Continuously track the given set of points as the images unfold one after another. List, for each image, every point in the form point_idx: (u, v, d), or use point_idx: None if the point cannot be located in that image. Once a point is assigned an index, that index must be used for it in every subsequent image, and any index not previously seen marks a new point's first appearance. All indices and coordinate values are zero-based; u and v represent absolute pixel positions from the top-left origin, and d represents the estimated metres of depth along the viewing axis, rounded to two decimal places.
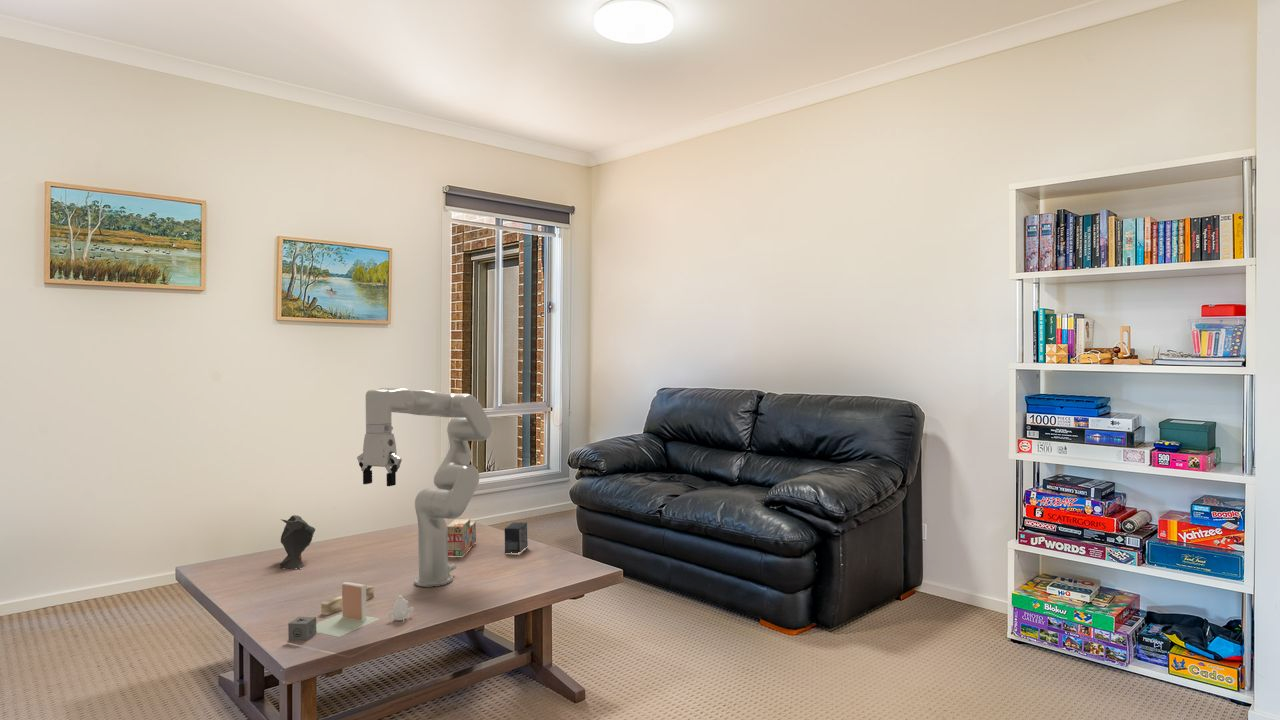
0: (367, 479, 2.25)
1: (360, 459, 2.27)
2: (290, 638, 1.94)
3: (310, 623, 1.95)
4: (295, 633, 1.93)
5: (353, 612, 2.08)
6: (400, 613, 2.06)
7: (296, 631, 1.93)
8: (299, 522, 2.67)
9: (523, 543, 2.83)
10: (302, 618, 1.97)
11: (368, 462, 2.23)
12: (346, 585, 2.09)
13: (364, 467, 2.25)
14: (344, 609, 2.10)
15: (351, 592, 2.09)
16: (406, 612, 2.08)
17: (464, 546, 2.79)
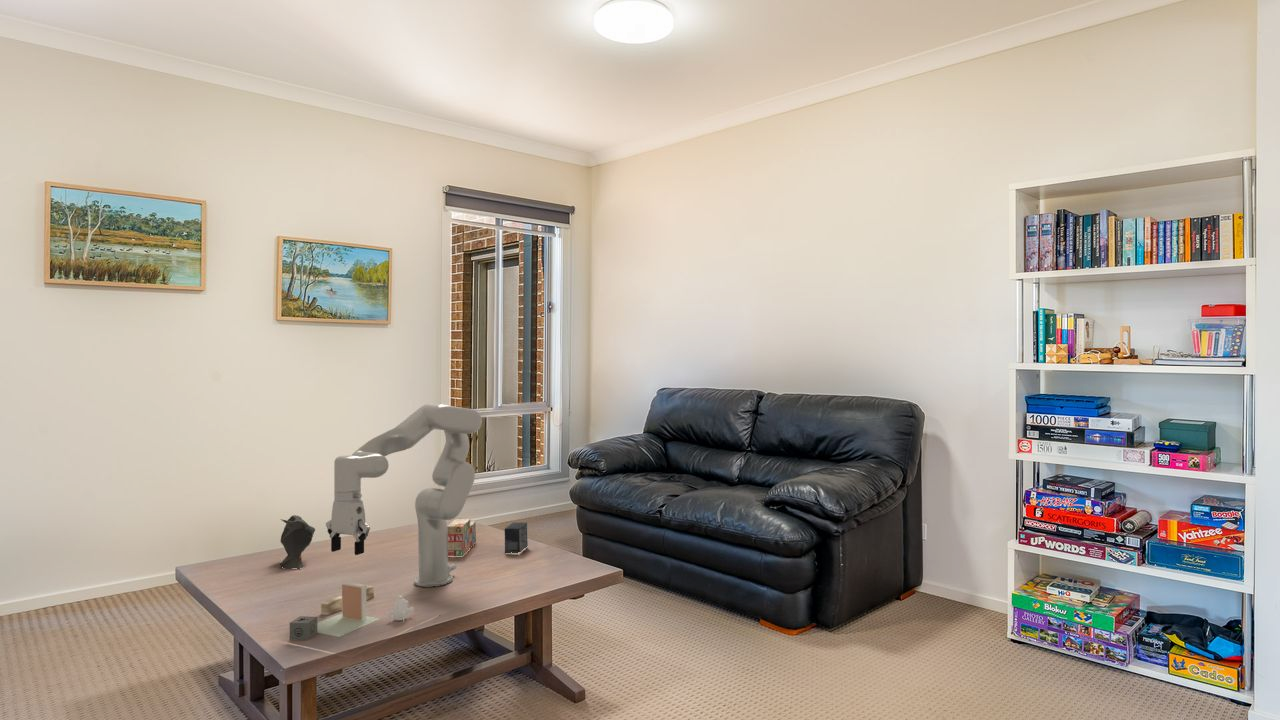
0: (335, 546, 2.23)
1: (329, 525, 2.24)
2: (291, 637, 1.94)
3: (311, 622, 1.96)
4: (297, 632, 1.94)
5: (353, 612, 2.08)
6: (400, 613, 2.06)
7: (297, 630, 1.94)
8: (299, 522, 2.67)
9: (523, 543, 2.83)
10: (303, 617, 1.98)
11: (336, 530, 2.20)
12: (346, 585, 2.09)
13: (332, 534, 2.22)
14: (344, 609, 2.10)
15: (351, 592, 2.09)
16: (406, 612, 2.08)
17: (464, 546, 2.79)
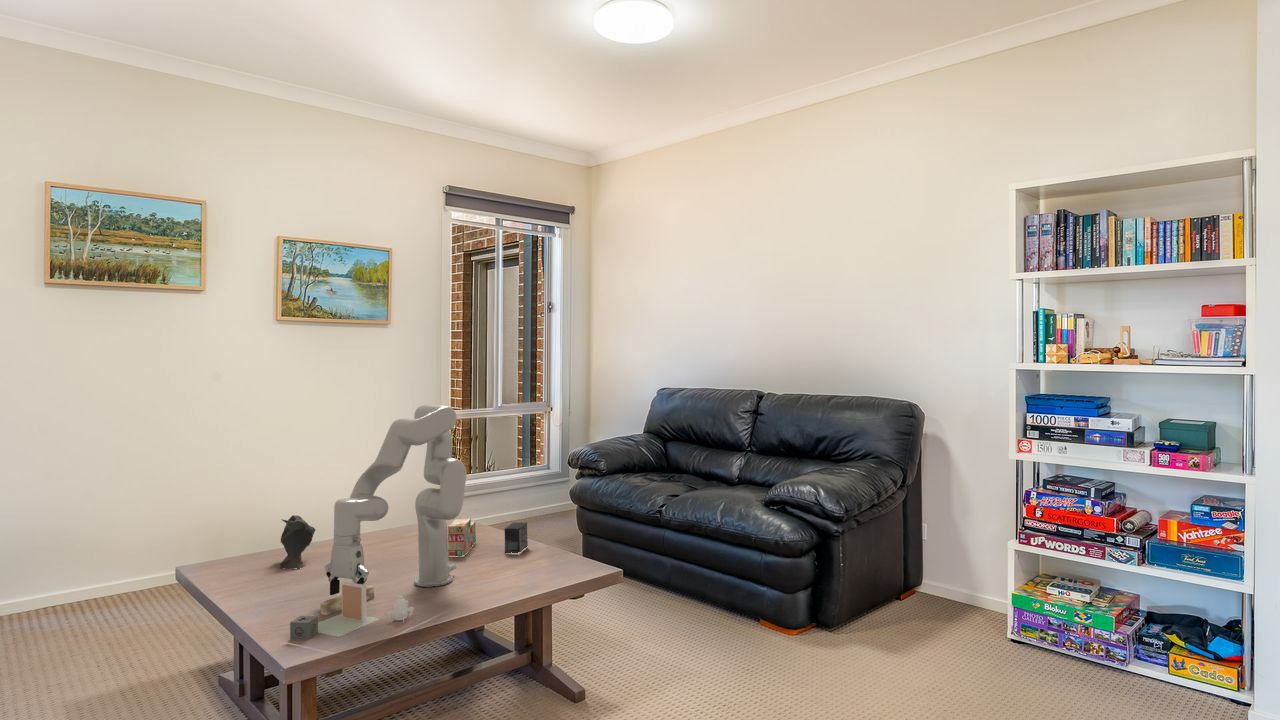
0: (334, 589, 2.22)
1: (328, 568, 2.24)
2: (292, 637, 1.94)
3: (312, 622, 1.96)
4: (297, 632, 1.94)
5: (353, 612, 2.08)
6: (400, 613, 2.06)
7: (298, 630, 1.94)
8: (299, 522, 2.67)
9: (523, 543, 2.83)
10: (304, 617, 1.98)
11: (335, 573, 2.20)
12: (346, 585, 2.09)
13: (331, 577, 2.22)
14: (344, 609, 2.10)
15: (351, 592, 2.09)
16: (406, 612, 2.08)
17: (466, 546, 2.80)
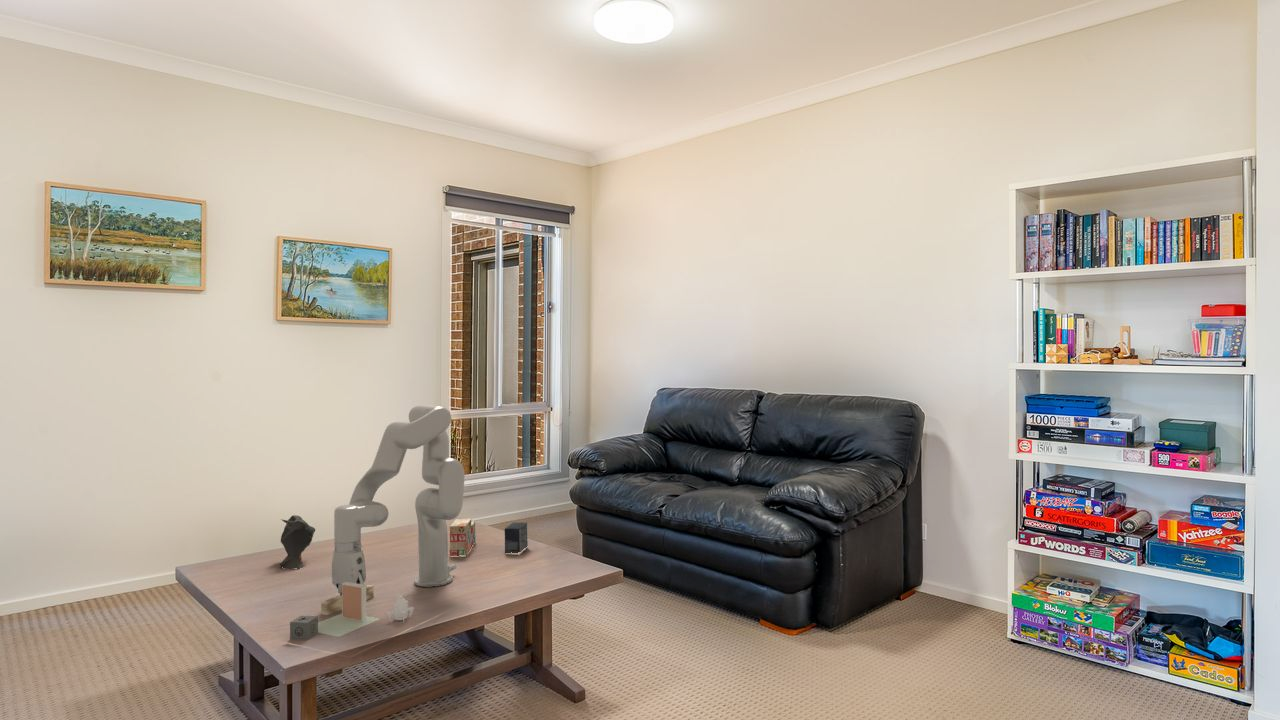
0: None
1: None
2: (292, 637, 1.94)
3: (312, 622, 1.96)
4: (297, 632, 1.94)
5: (353, 612, 2.08)
6: (400, 613, 2.06)
7: (298, 630, 1.94)
8: (299, 522, 2.67)
9: (523, 543, 2.83)
10: (304, 617, 1.98)
11: (337, 580, 2.20)
12: (346, 585, 2.09)
13: (341, 589, 2.21)
14: (344, 609, 2.10)
15: (351, 592, 2.09)
16: (406, 612, 2.08)
17: (467, 545, 2.80)
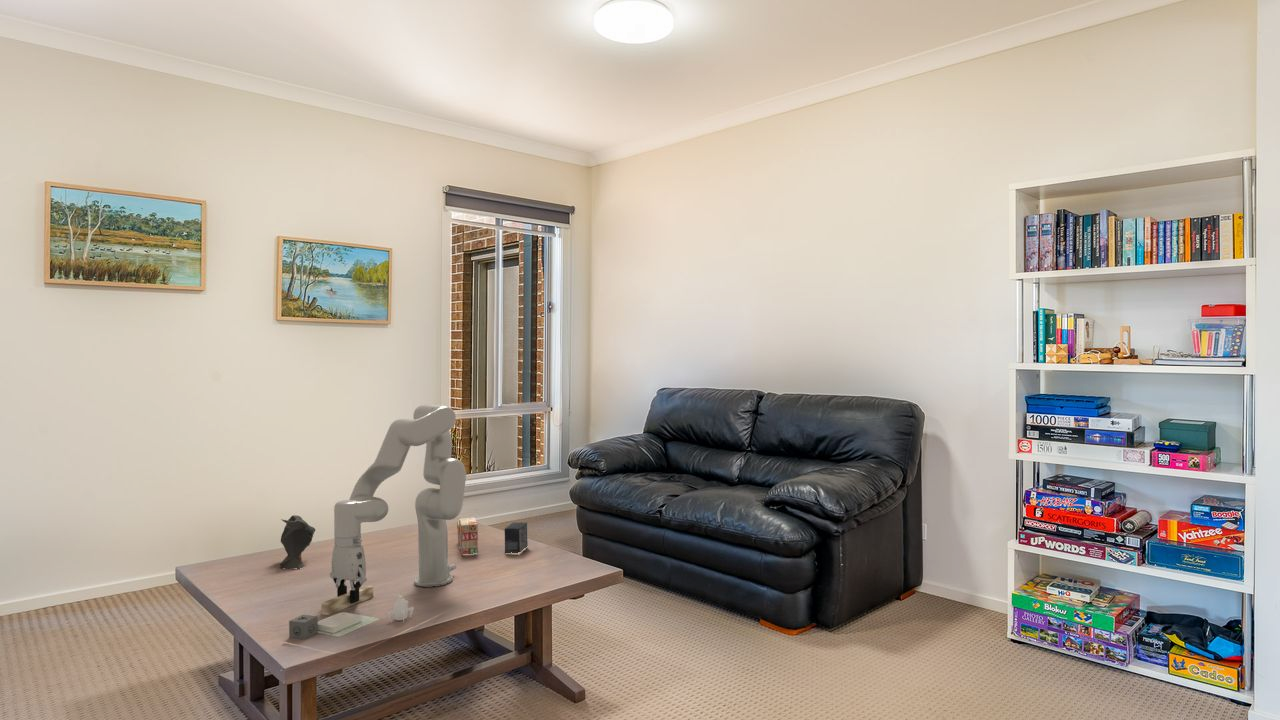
0: None
1: None
2: (291, 636, 1.95)
3: (310, 622, 1.96)
4: (295, 631, 1.95)
5: None
6: (400, 613, 2.06)
7: (296, 629, 1.95)
8: (299, 522, 2.67)
9: (523, 543, 2.83)
10: (304, 616, 1.99)
11: (337, 575, 2.20)
12: (318, 629, 2.01)
13: (338, 584, 2.21)
14: None
15: None
16: (406, 612, 2.08)
17: None
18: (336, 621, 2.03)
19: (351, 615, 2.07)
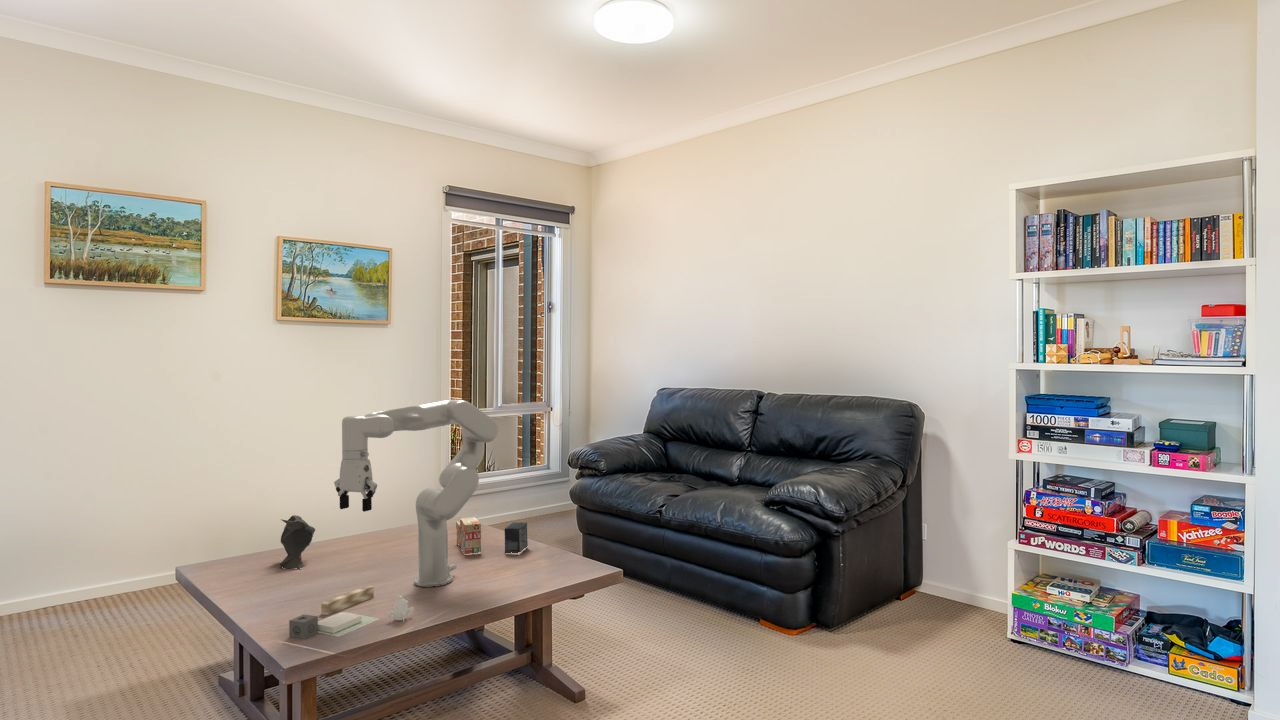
0: (344, 504, 2.30)
1: (337, 484, 2.31)
2: (291, 635, 1.95)
3: (310, 622, 1.96)
4: (295, 630, 1.95)
5: None
6: (400, 613, 2.06)
7: (296, 629, 1.95)
8: (299, 522, 2.67)
9: (523, 543, 2.83)
10: (305, 616, 1.99)
11: (344, 487, 2.27)
12: (318, 629, 2.01)
13: (341, 492, 2.29)
14: None
15: None
16: (406, 612, 2.08)
17: None
18: (336, 621, 2.03)
19: (351, 615, 2.07)
